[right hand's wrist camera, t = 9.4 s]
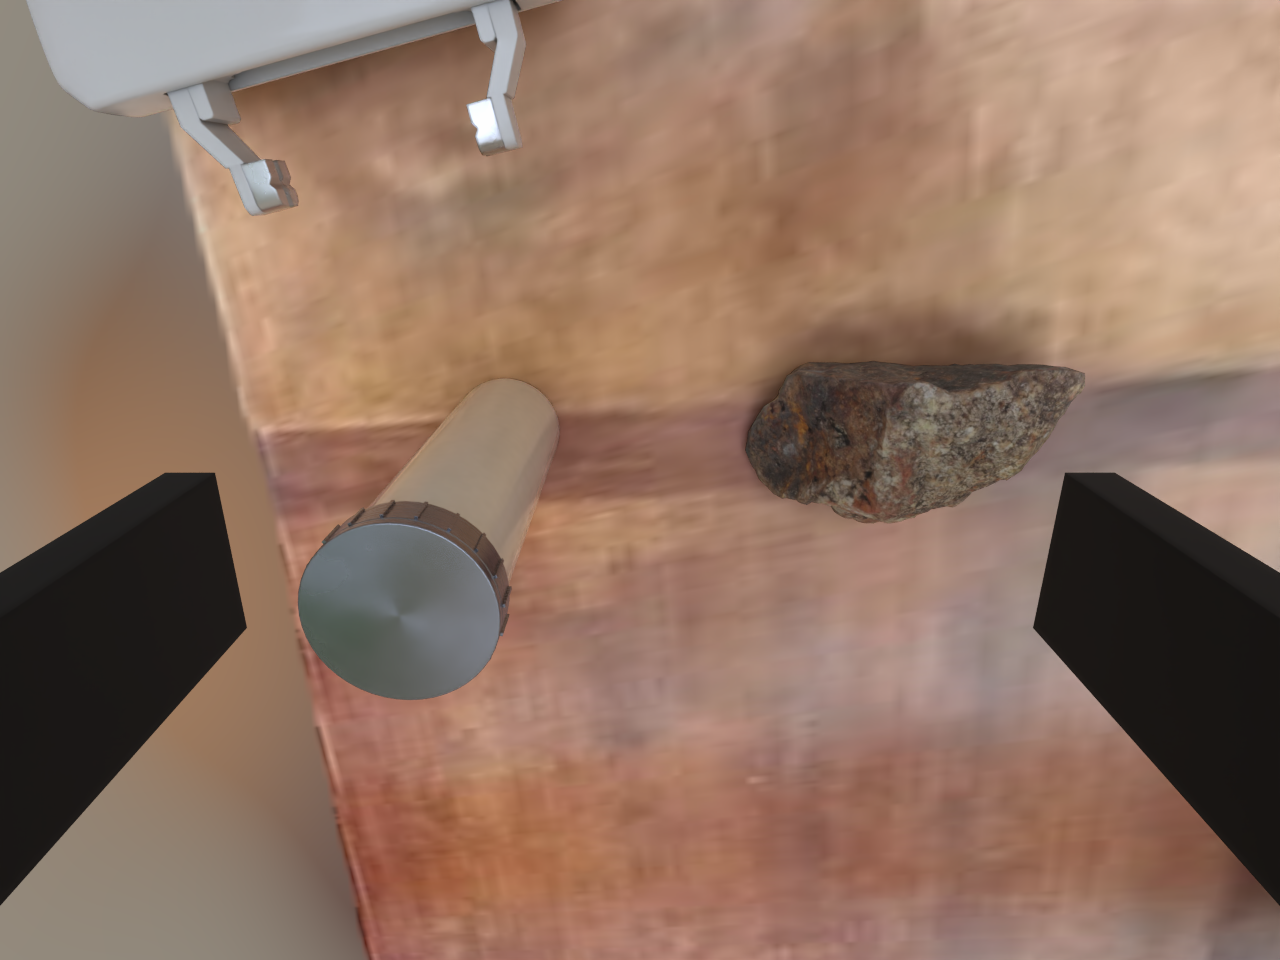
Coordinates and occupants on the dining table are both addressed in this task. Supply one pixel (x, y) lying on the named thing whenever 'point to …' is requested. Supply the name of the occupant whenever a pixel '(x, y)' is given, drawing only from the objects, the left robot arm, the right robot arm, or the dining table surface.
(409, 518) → the lid
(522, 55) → the left robot arm
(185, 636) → the right robot arm
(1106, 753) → the dining table surface
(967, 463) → the rock
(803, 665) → the dining table surface
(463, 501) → the beige cylindrical bottle
